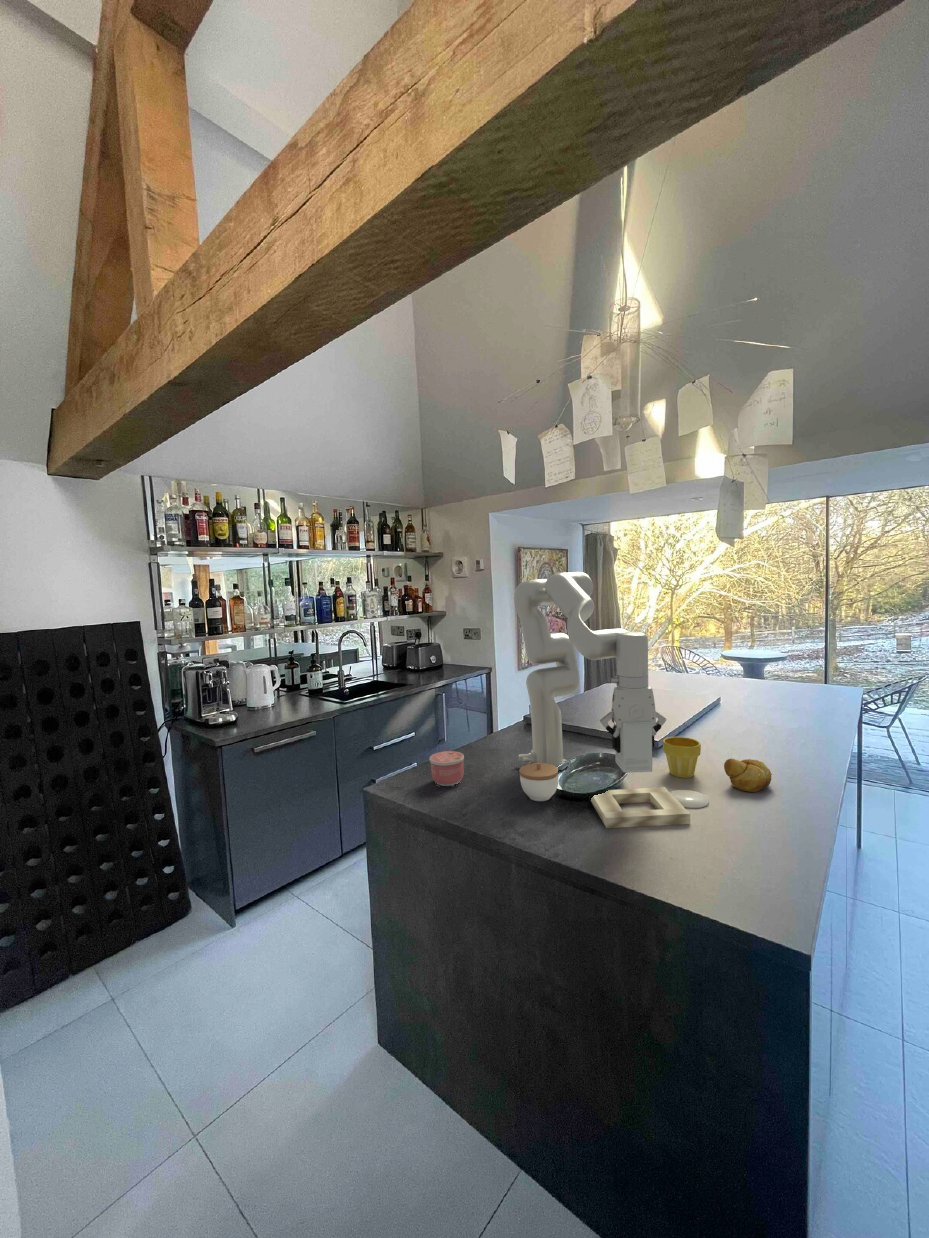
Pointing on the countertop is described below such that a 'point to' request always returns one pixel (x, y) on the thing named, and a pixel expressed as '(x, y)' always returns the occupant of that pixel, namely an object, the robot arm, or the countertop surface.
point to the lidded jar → (539, 780)
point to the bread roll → (748, 774)
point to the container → (447, 767)
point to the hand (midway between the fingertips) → (633, 749)
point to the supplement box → (635, 747)
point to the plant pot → (681, 755)
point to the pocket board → (659, 797)
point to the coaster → (690, 798)
